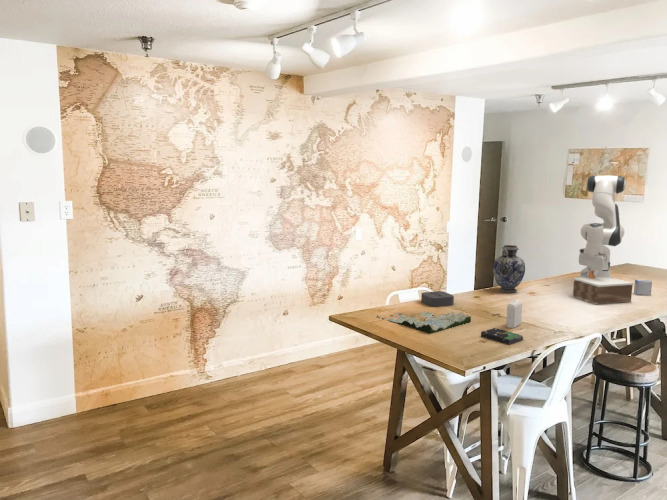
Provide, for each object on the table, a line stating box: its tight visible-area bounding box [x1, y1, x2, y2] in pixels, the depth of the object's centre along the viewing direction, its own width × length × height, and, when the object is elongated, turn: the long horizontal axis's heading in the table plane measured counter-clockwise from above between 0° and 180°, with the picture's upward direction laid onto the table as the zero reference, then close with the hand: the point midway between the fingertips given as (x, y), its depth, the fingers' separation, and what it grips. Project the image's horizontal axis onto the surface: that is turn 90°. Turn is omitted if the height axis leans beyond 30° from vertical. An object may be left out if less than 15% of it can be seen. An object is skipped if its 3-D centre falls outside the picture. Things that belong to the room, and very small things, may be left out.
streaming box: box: [420, 290, 455, 308], centre depth 294 cm, size 14×14×5 cm
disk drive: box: [480, 327, 524, 346], centre depth 232 cm, size 10×3×15 cm
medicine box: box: [633, 279, 653, 296], centre depth 313 cm, size 8×4×9 cm, turn 84°
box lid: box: [573, 270, 634, 287], centre depth 300 cm, size 20×22×5 cm
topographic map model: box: [376, 311, 472, 335], centre depth 261 cm, size 36×29×5 cm
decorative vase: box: [492, 244, 526, 294], centre depth 321 cm, size 21×19×28 cm
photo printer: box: [506, 299, 523, 329], centre depth 250 cm, size 10×4×12 cm, turn 140°
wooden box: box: [572, 280, 633, 306], centre depth 301 cm, size 20×22×10 cm
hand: (592, 274), depth 308 cm, fingers closed on box lid, 2 cm apart
